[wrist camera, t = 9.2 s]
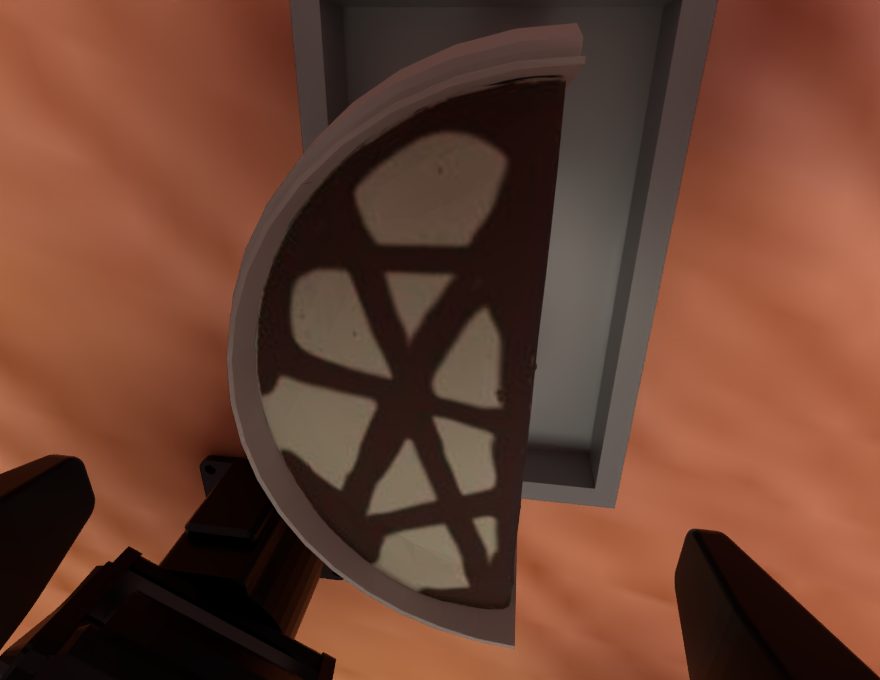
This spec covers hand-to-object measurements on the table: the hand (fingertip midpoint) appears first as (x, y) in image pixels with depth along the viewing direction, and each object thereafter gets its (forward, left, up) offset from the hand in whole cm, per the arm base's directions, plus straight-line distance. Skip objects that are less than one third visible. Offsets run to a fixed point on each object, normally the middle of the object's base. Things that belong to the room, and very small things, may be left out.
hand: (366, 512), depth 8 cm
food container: (0, 0, -12) cm, 12 cm away
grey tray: (0, -1, -12) cm, 12 cm away
